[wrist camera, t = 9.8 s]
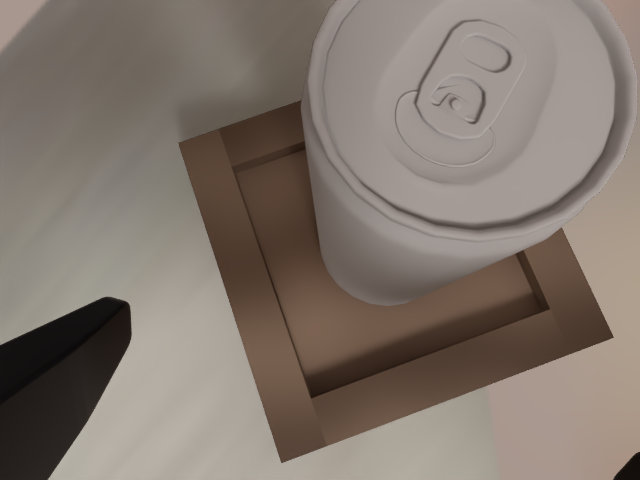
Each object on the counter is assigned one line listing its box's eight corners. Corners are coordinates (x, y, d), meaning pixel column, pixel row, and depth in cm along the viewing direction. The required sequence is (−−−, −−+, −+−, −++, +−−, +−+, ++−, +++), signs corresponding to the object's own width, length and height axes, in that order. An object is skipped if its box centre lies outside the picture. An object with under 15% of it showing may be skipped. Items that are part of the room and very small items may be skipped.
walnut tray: (585, 337, 19) (613, 337, 17) (287, 449, 18) (281, 463, 16) (460, 68, 21) (472, 40, 19) (193, 161, 21) (178, 142, 19)
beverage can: (295, 265, 19) (231, 140, 7) (359, 158, 19) (400, -122, 8) (409, 331, 18) (556, 321, 6) (471, 218, 19) (706, 18, 7)
